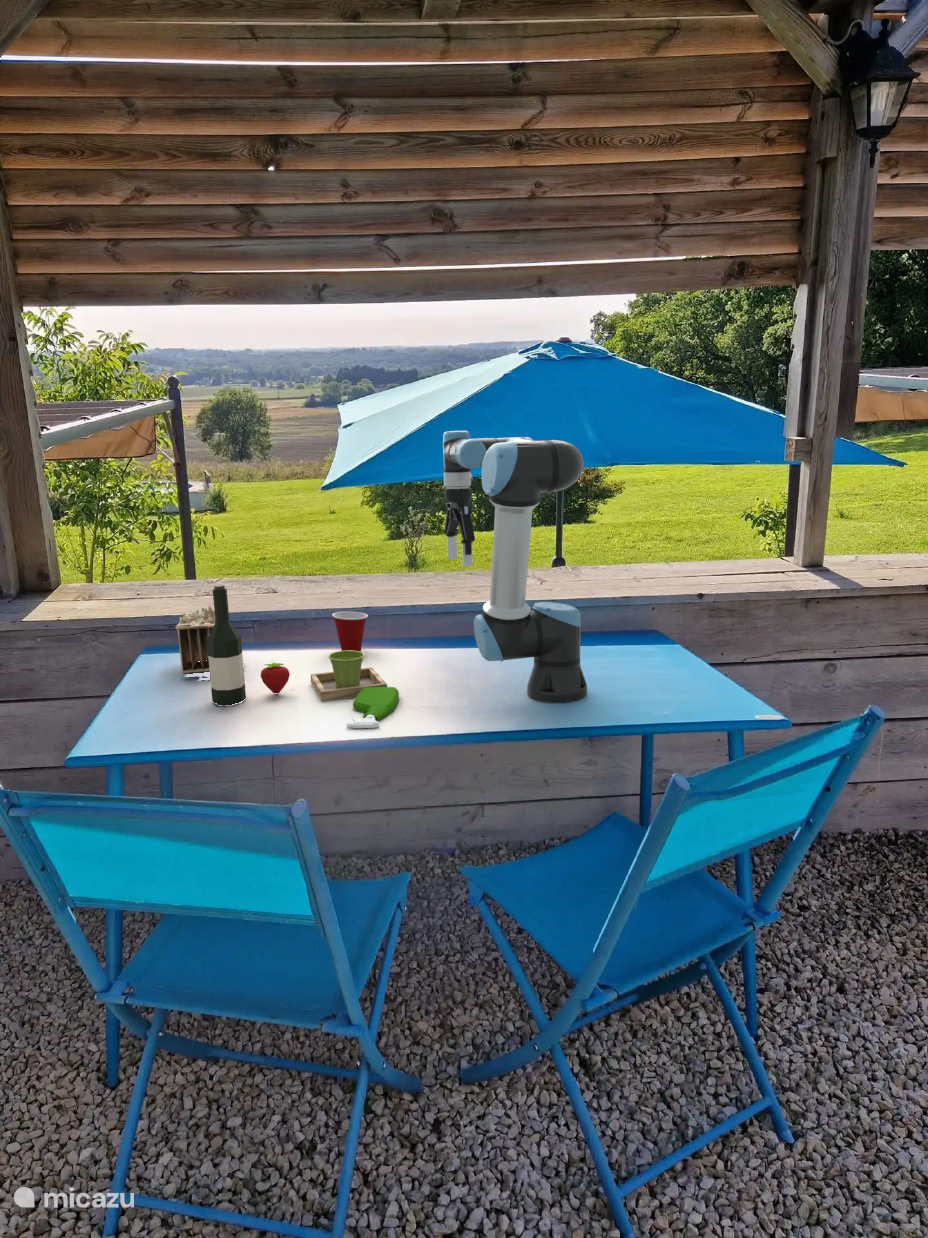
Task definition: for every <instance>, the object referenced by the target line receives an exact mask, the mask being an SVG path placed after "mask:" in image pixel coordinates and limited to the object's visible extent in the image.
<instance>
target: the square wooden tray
mask: <svg viewBox="0 0 928 1238" xmlns="http://www.w3.org/2000/svg"><path fill="white" fill-rule="evenodd" d="M311 683H312V684H311ZM310 684H311V685H313V686H312V687H313V689H314V688H315V689H314V691H315V690H316V691H315V692H316V694H317V695H318V697H319V699H320V700H321V702H328V701H336V700H343V699H344V700H345V699H350V698H351V699H352V698H354V699H355V698H356V696H357V695H358V694H359V692H360V691H361V690H362V689H364V688H365V687H388V683H387V682H386V681H384V679H383V678H382V677H381V675H379V673H378V672H377V671H376V670H375V668H373V667H370V666H369V667H363V668H362V667H361V674H360V685H359V686H355V687H347V688H338V687H336V682H335V677H334V672H333V671H326V672H319V673H318V672H317V673H310Z"/></svg>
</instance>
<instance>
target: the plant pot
mask: <svg viewBox="0 0 928 1238" xmlns="http://www.w3.org/2000/svg"><path fill="white" fill-rule="evenodd" d="M364 657H365V653H364V652H363V651H361V652H360V651H353V650H346V651H341V650H340V651H339V650H338V651H334V652H332V653H330V654H328V659H329V660H330V663H331V667H332V672H334V677H335V682H336V687H338V688H347V687H355V686H359V685H360V674H361V668H362V663H363V660H364Z"/></svg>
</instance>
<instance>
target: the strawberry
mask: <svg viewBox="0 0 928 1238" xmlns="http://www.w3.org/2000/svg"><path fill="white" fill-rule="evenodd" d="M263 665H264V666H266V667H263V669H262V670H261V671H260V678H261V680H262V683H263V684H264V685H265V686H266V687H267V689H269V690H270V691H271V692H272V693H273V694H274V693H279V694H280V693H281V691H282V690H283V689H284V688H285V686H286V685H287V684H288V682H289V679H290V675H291V673H290V670H289V668H287V667H285V663H281V662H275V661H274V662H271V663H264V664H263Z"/></svg>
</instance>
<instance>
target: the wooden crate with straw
mask: <svg viewBox="0 0 928 1238" xmlns="http://www.w3.org/2000/svg"><path fill="white" fill-rule="evenodd" d="M207 608H208V609H207ZM214 624H215V612H214V610H213V608H212V606H211V605H210V606H209V605H208V607H205V608H203V607H201V613H200V611H199V610H196V611H194V612H190V613H185V612H183V614H182V616H179V622H178V624H176V625H175V629H176V631H177V637H178V638H177V639H178V646H179V656H180V663H181V664H180V665H181V673H182V674H183V675H184V674H193V673H204V672H210V669H209V659H208V648H207V638H208V636H209V634H210V632H211V630H212V628H213V626H214ZM206 660H207V661H206ZM198 661H200V662H198Z"/></svg>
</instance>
